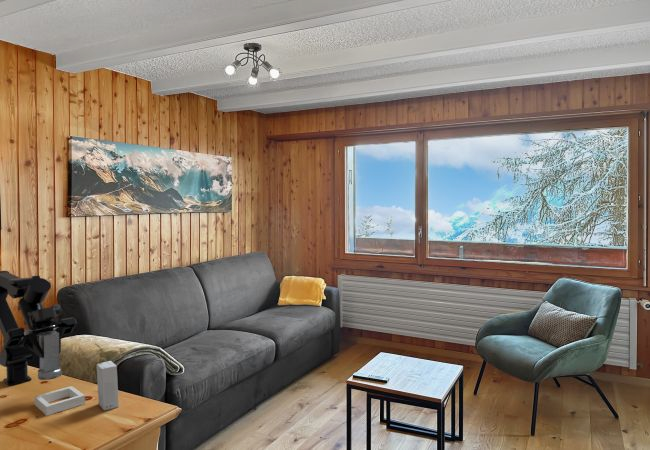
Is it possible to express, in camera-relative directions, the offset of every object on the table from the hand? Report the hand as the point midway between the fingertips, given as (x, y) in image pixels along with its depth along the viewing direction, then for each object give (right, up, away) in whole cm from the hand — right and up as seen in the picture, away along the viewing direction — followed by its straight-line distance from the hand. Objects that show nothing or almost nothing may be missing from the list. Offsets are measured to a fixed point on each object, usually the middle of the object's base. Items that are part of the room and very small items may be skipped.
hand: (51, 355), depth 135 cm
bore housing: (+4, -14, -2) cm, 14 cm away
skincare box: (+18, -14, -2) cm, 23 cm away
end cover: (-1, -7, +1) cm, 7 cm away
